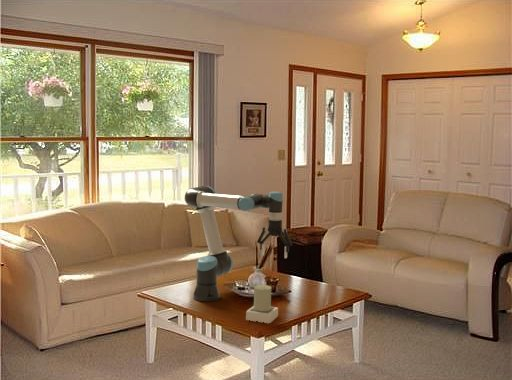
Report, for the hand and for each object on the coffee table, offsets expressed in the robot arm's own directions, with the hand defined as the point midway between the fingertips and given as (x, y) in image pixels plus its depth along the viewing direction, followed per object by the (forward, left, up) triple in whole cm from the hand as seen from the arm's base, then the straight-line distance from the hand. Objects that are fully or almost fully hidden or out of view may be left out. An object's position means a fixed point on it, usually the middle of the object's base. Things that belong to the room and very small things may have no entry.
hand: (274, 256), depth 352 cm
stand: (+4, -28, -27) cm, 39 cm away
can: (+4, -28, -22) cm, 36 cm away
